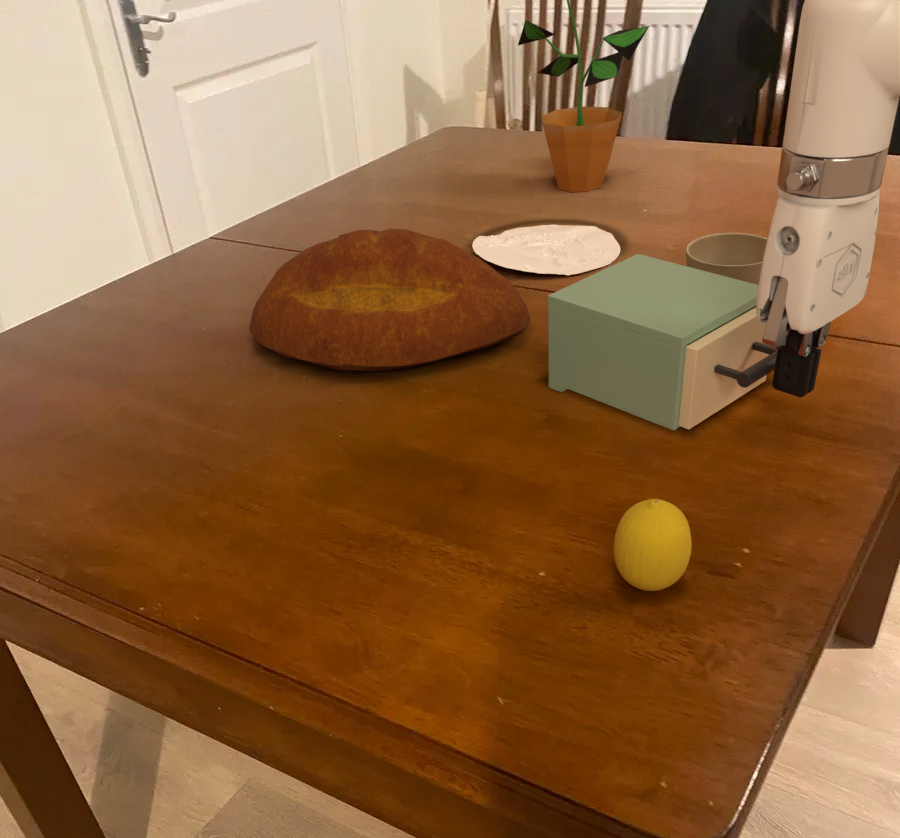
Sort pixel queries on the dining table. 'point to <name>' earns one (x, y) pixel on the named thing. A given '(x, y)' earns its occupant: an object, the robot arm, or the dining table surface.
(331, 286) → the bread
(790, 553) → the dining table surface
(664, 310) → the cabinet
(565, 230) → the plaque
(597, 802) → the dining table surface
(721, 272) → the flower pot
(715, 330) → the drawer
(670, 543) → the lemon
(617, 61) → the potted plant
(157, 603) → the dining table surface
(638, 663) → the dining table surface
